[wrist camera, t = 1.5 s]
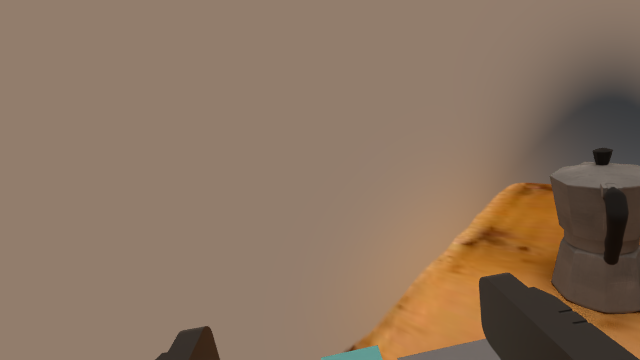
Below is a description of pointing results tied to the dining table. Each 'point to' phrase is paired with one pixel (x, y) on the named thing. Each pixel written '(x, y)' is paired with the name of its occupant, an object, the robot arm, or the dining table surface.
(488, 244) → the dining table surface
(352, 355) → the block
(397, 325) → the dining table surface
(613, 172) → the coffeepot
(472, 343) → the board
